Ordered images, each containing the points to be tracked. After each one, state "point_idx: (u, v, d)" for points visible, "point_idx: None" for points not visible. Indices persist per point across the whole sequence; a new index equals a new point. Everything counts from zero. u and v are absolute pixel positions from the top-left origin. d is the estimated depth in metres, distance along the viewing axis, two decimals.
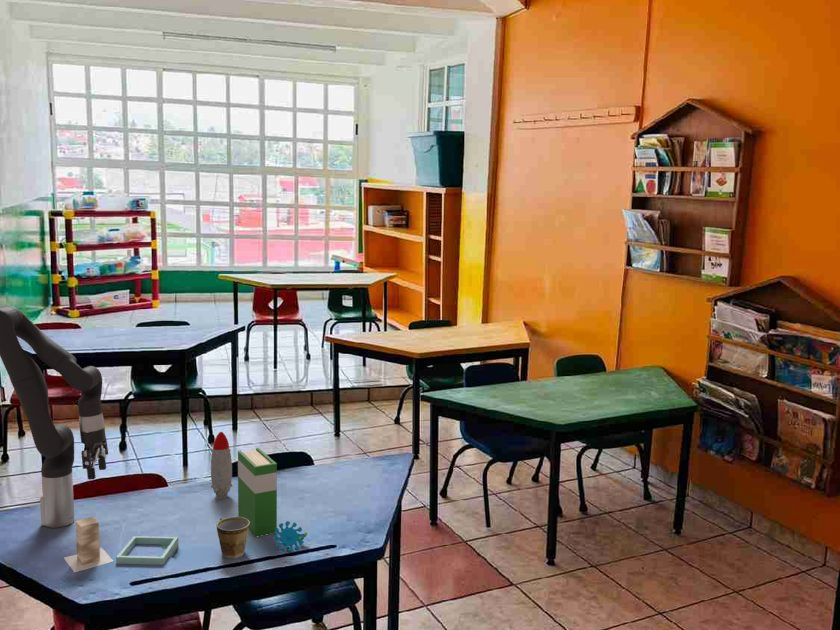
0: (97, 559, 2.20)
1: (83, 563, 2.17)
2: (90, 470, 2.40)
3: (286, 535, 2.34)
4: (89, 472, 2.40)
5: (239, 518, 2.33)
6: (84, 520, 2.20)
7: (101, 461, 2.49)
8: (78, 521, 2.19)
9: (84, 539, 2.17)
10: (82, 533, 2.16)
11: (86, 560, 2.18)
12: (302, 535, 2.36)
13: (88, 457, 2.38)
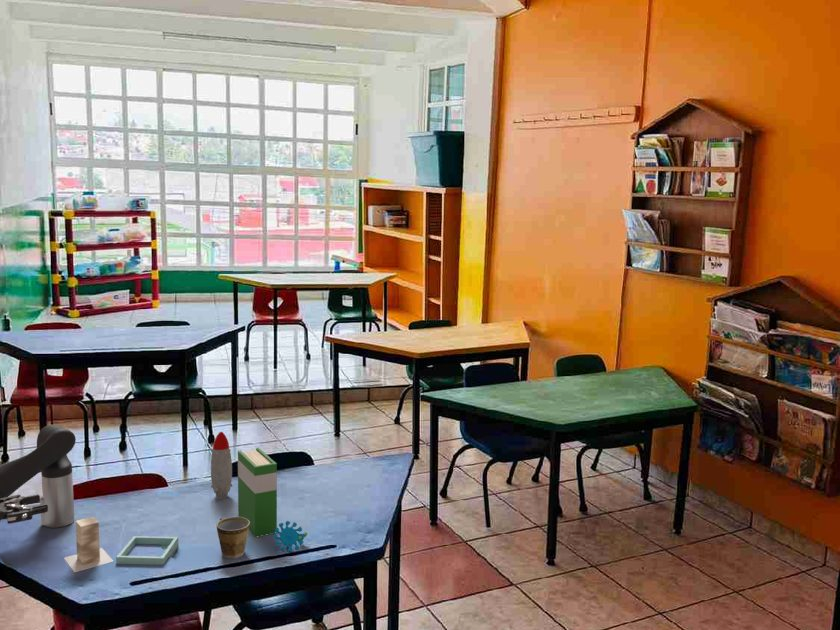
0: (97, 559, 2.20)
1: (83, 563, 2.17)
2: (35, 510, 2.04)
3: (286, 535, 2.34)
4: (38, 511, 2.05)
5: (239, 518, 2.33)
6: (84, 520, 2.20)
7: (28, 500, 2.11)
8: (78, 521, 2.19)
9: (84, 539, 2.17)
10: (82, 533, 2.16)
11: (86, 560, 2.18)
12: (302, 535, 2.36)
13: (16, 514, 2.00)
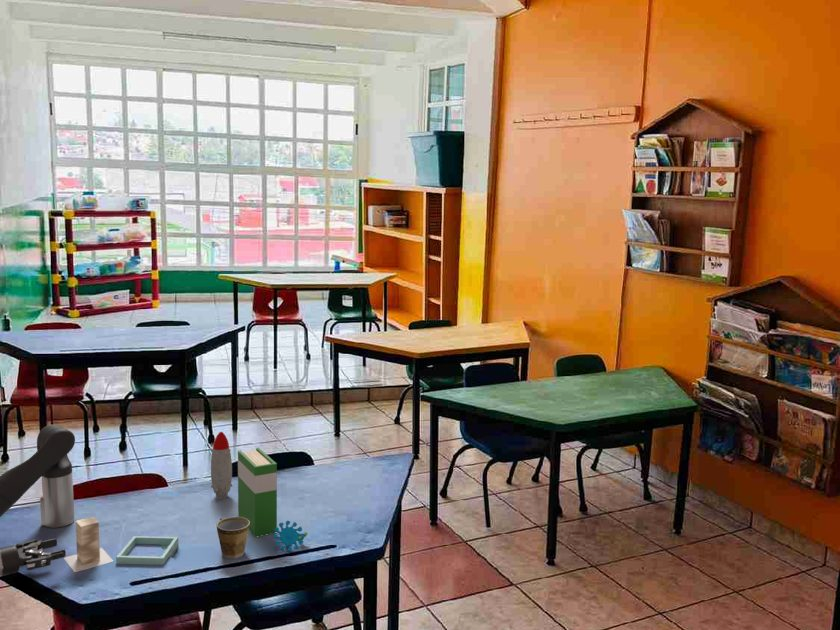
0: (97, 559, 2.20)
1: (83, 563, 2.17)
2: (53, 556, 2.08)
3: (286, 534, 2.34)
4: (56, 556, 2.09)
5: (239, 518, 2.33)
6: (84, 520, 2.20)
7: (45, 544, 2.15)
8: (78, 521, 2.19)
9: (84, 539, 2.17)
10: (82, 533, 2.16)
11: (86, 560, 2.18)
12: (302, 535, 2.37)
13: (35, 561, 2.04)
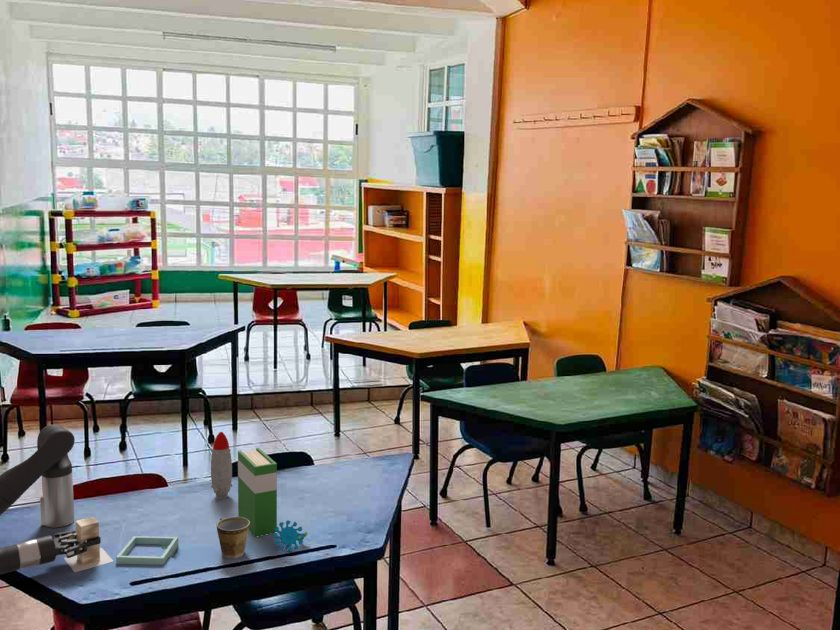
0: (97, 559, 2.20)
1: (83, 563, 2.17)
2: (89, 542, 2.16)
3: (286, 534, 2.35)
4: (92, 543, 2.17)
5: (239, 518, 2.33)
6: (84, 520, 2.20)
7: None
8: (78, 521, 2.19)
9: (84, 539, 2.17)
10: (82, 533, 2.16)
11: (86, 560, 2.18)
12: (302, 535, 2.37)
13: (75, 548, 2.11)
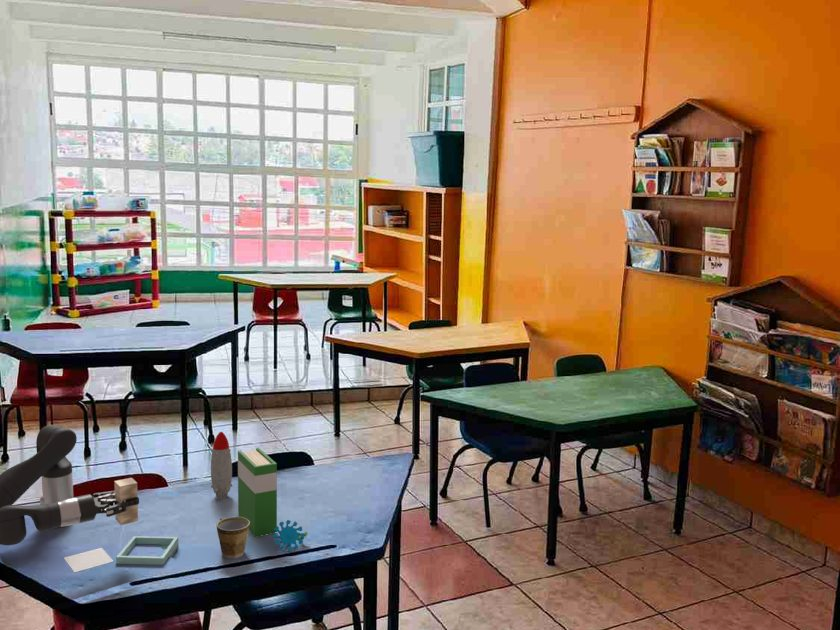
0: (135, 520, 2.20)
1: (122, 523, 2.18)
2: (128, 502, 2.17)
3: (286, 534, 2.35)
4: (130, 503, 2.18)
5: (239, 518, 2.33)
6: (123, 480, 2.20)
7: None
8: (117, 481, 2.19)
9: (123, 499, 2.17)
10: (121, 493, 2.17)
11: (124, 520, 2.18)
12: (302, 534, 2.37)
13: (114, 507, 2.12)
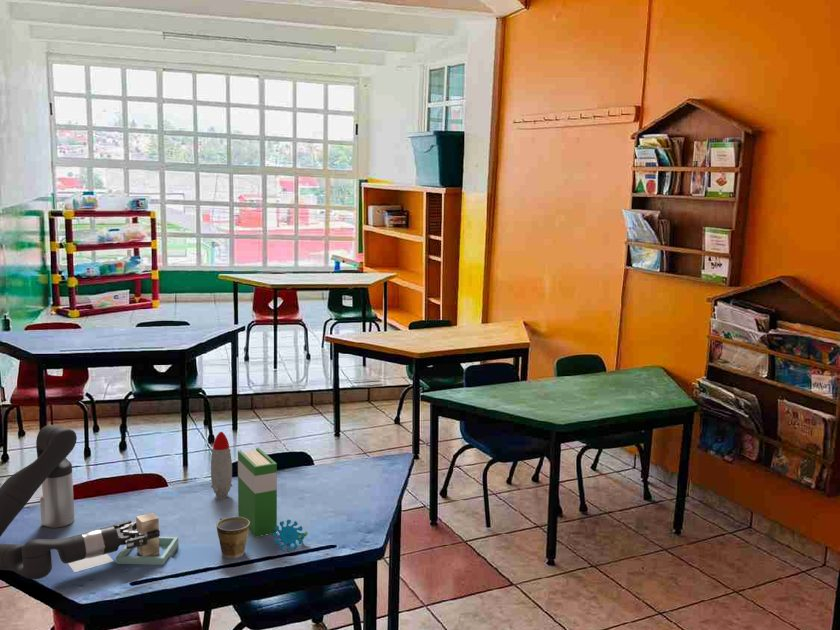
0: None
1: None
2: (149, 535, 2.20)
3: (285, 533, 2.35)
4: (151, 536, 2.20)
5: (239, 518, 2.33)
6: (144, 516, 2.25)
7: None
8: (139, 517, 2.24)
9: None
10: (143, 528, 2.21)
11: (146, 555, 2.23)
12: (302, 534, 2.37)
13: (134, 540, 2.15)
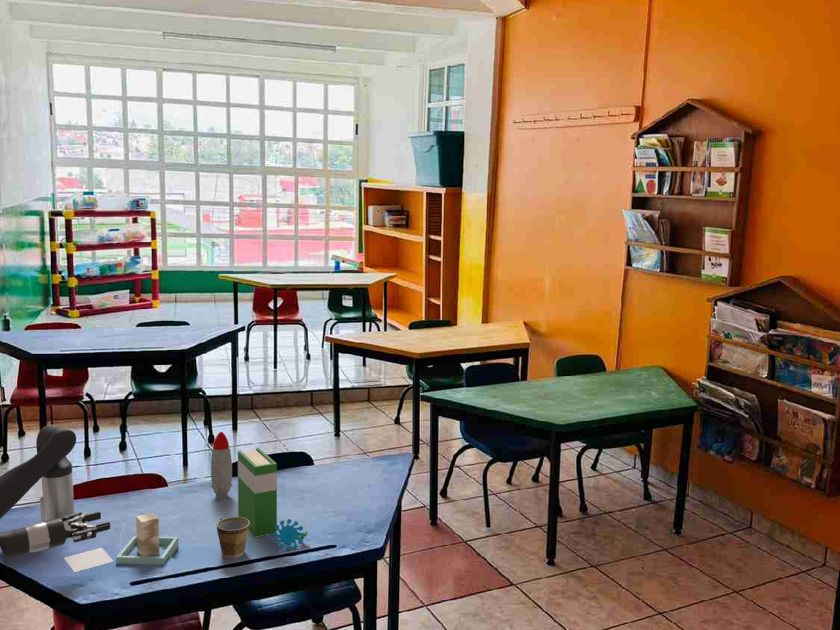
0: None
1: None
2: (98, 528, 2.09)
3: (285, 533, 2.36)
4: (101, 529, 2.10)
5: (239, 518, 2.33)
6: (144, 516, 2.25)
7: (90, 517, 2.16)
8: (139, 517, 2.24)
9: (145, 534, 2.22)
10: (143, 528, 2.21)
11: (146, 555, 2.23)
12: (302, 534, 2.37)
13: (81, 533, 2.05)
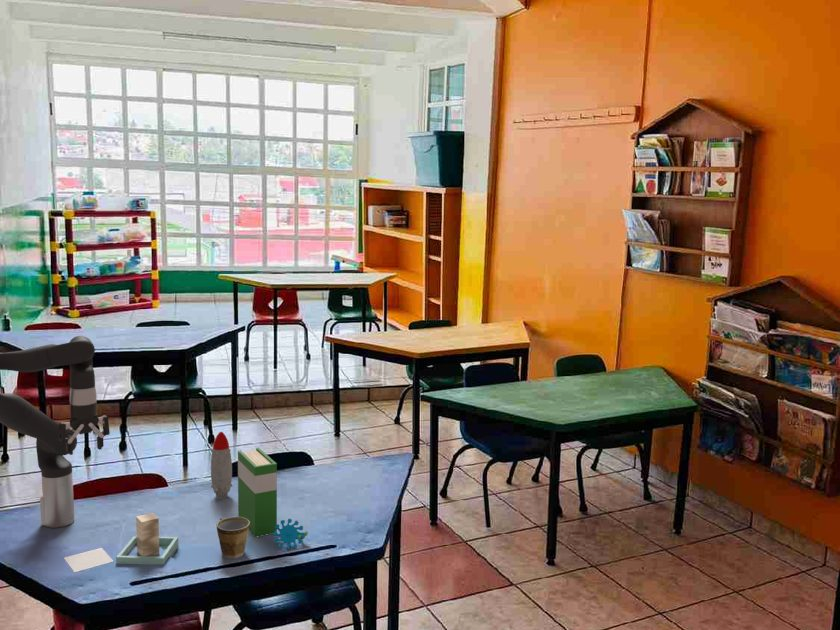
0: None
1: None
2: None
3: (285, 532, 2.36)
4: None
5: (239, 518, 2.33)
6: (144, 516, 2.25)
7: None
8: (139, 517, 2.24)
9: (145, 534, 2.22)
10: (143, 528, 2.21)
11: (146, 555, 2.23)
12: (302, 534, 2.37)
13: None
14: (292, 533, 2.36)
